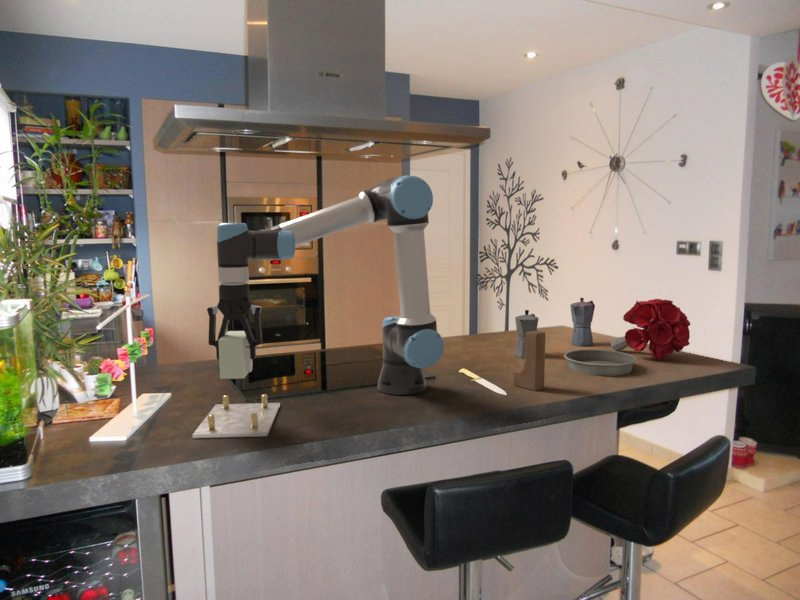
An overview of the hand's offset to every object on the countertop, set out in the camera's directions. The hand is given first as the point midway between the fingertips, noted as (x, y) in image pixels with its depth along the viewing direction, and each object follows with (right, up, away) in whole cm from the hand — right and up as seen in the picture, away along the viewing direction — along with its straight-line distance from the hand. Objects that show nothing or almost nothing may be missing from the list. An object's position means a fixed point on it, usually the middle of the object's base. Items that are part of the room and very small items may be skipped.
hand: (236, 371), depth 156 cm
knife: (+69, -9, +39) cm, 79 cm away
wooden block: (+83, -9, +32) cm, 90 cm away
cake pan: (+114, -6, +56) cm, 127 cm away
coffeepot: (+92, -3, +77) cm, 120 cm away
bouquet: (+138, -3, +73) cm, 157 cm away
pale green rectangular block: (0, 0, 0) cm, 0 cm away
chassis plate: (0, -13, +2) cm, 14 cm away
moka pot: (+120, 0, +97) cm, 154 cm away
